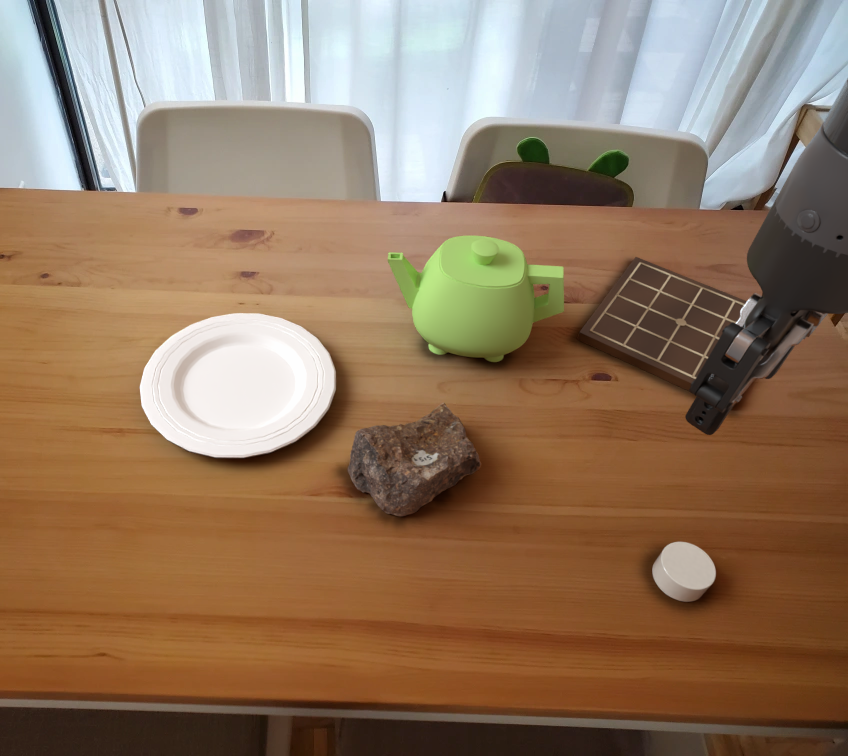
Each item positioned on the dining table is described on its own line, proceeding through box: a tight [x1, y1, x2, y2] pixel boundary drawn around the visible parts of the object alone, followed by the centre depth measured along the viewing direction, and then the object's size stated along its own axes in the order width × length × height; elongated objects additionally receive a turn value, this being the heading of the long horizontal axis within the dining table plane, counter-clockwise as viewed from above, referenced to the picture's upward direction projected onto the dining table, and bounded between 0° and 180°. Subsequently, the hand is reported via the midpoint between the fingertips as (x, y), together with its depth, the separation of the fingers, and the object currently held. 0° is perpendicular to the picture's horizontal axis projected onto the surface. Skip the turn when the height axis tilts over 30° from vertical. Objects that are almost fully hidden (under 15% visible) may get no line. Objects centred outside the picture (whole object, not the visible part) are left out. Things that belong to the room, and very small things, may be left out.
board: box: [576, 256, 748, 411], centre depth 86 cm, size 18×18×1 cm
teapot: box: [387, 235, 565, 363], centre depth 81 cm, size 20×13×13 cm
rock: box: [347, 402, 482, 517], centre depth 69 cm, size 13×8×6 cm, turn 120°
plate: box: [139, 312, 337, 459], centre depth 77 cm, size 21×21×2 cm
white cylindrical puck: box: [651, 541, 717, 603], centre depth 63 cm, size 5×5×2 cm
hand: (729, 397), depth 54 cm, fingers open, 8 cm apart
